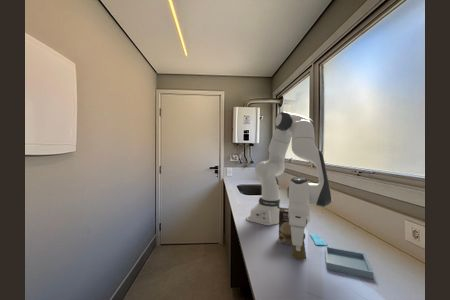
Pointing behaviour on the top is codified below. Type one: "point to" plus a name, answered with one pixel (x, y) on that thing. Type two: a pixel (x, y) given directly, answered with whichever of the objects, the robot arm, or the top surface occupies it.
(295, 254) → the cork
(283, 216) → the coffee box
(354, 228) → the top surface
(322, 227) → the top surface
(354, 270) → the tray
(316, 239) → the sponge
